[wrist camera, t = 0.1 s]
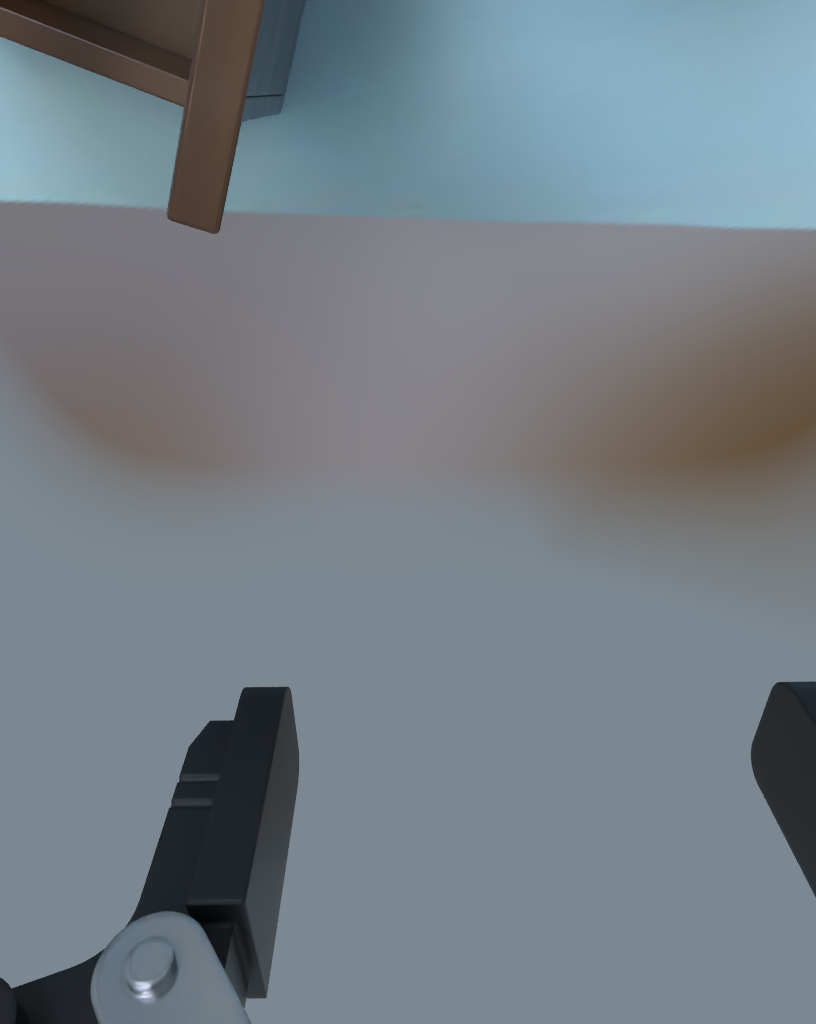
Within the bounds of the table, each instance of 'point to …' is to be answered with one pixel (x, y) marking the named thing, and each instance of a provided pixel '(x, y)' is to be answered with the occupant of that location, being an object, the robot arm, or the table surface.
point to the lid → (213, 110)
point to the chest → (151, 43)
